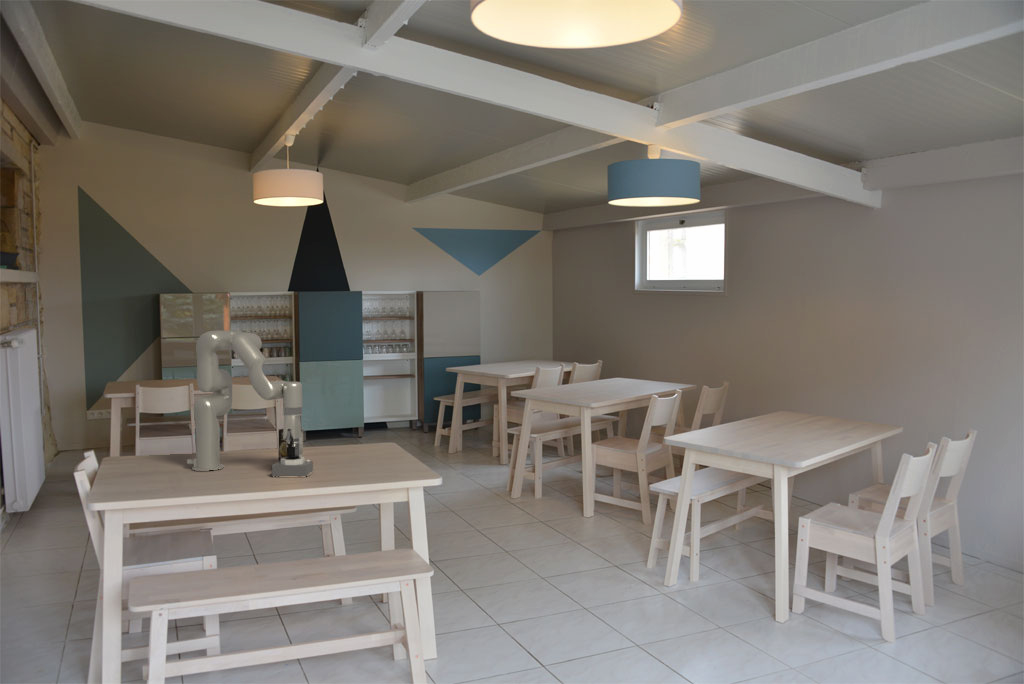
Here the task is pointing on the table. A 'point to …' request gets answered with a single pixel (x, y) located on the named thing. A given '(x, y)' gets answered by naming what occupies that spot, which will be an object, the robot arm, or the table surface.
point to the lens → (296, 445)
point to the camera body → (292, 467)
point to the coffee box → (284, 445)
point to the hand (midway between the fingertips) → (293, 454)
